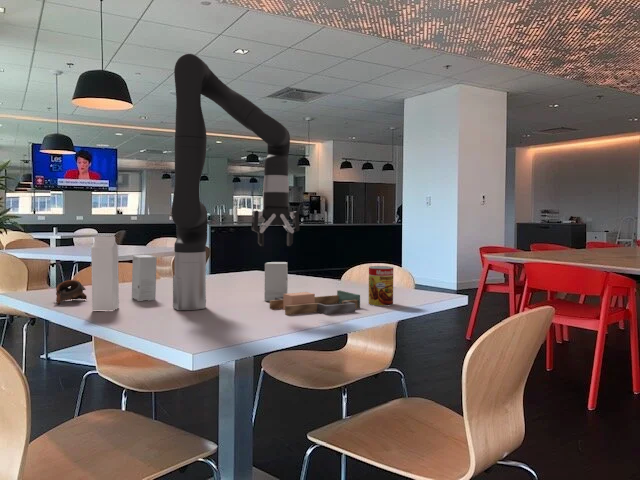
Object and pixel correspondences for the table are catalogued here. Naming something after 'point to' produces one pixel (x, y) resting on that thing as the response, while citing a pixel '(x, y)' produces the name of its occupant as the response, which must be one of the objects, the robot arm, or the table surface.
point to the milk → (105, 273)
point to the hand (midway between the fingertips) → (275, 245)
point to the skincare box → (144, 277)
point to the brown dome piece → (70, 291)
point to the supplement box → (276, 280)
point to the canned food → (380, 285)
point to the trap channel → (322, 304)
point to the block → (298, 298)
